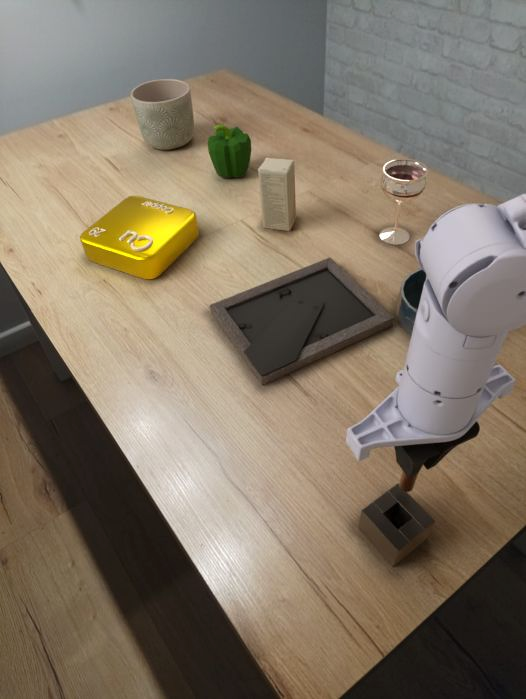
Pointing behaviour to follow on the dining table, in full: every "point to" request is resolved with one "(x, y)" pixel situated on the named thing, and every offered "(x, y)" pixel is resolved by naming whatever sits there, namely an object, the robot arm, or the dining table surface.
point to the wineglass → (401, 192)
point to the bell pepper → (229, 151)
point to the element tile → (140, 236)
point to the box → (277, 193)
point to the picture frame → (299, 319)
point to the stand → (405, 514)
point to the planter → (164, 112)
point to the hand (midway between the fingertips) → (414, 463)
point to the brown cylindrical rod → (407, 482)
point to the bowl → (410, 299)
